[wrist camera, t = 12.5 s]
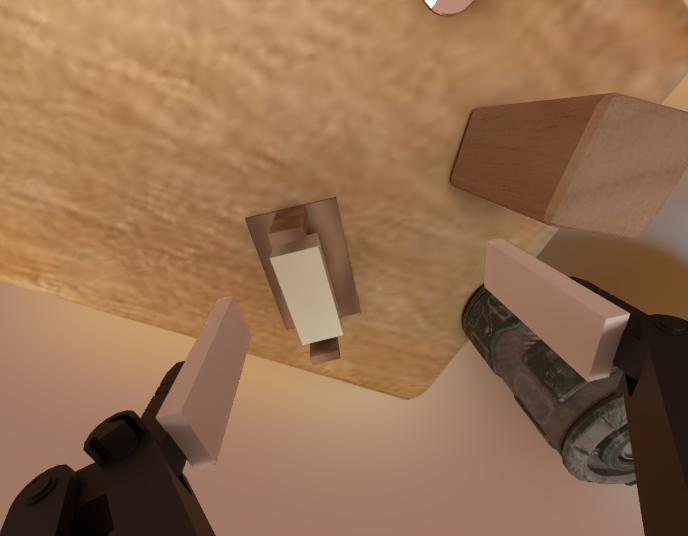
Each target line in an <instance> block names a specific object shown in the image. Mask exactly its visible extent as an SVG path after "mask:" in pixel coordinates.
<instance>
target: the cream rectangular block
mask: <svg viewBox="0 0 688 536" xmlns="http://www.w3.org/2000/svg"><path fill="white" fill-rule="evenodd" d="M270 260H271V263H272V266H273V268H274V271H275V274H276V276H277V279H278V282H279V284H280V287H281V290H282V292H283V295H284V298H285V300H286V303H287V306H288V308H289V311H290V313H291V316H292V319H293V321H294V324H295V327H296V329H297V332H298V335H299V337H300V340H301V343H302V345H305V344H309V343H313V342H317V341H321V340H325V339H330V338H334V337H338V336H342V335H343V329H342V323H341V317H340V312H339V309H338V305H337V302H336V298H335V294H334V291H333V287H332V284H331V280H330V277H329V273H328V269H327V266H326V262H325V259H324V255H323V251H322V248H321V244H320V241H319V237H318V234H317V233H314V234H310V235H307V236H306V239H304V240H299V241H295V242H291V243H286V244H282V245H278V246H273V249H272V253H271V256H270Z"/></svg>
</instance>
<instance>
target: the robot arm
mask: <svg viewBox="0 0 688 536" xmlns="http://www.w3.org/2000/svg"><path fill="white" fill-rule="evenodd" d="M484 287H485V288H486V289H487V290H488V291H489V292H490V293H492V294H493V295H494V296H495V297H496V298H497V299H498V300H499V301H500V302H501V303H502V304H504V305H505V306H506V307H507V308H508V309H509V310H510V311H511V312H512V313H513V314H514V315H516V316H517V317H518V318H519V319H520V320H521V321H522V322H523V323H524V324H525V325H526V326H527V327H529V328H530V329H531V330H532V331H533V332H534V333H535V334H536V335H537V336H538V337H539V338H541V339H542V340H543V341H544V342H545V343H546V344H547V345H548V346H549V347H550V348H551V349H553V350H554V351H555V352H556V353H557V354H558V355H559V356H560V357H561V358H562V359H563V360H564V361H566V362H567V363H568V364H569V365H570V366H571V367H572V368H573V369H574V370H575V371H576V372H578V373H579V374H580V375H581V376H582V377H583V378H584V379H585V380H586V381H587V382H589V381H593V380H598V379H602V378H607V377H609V375H610V372H611V369H612V366H613V364H614V365H615V366H617V367H618V368H619V369H621V370H622V371H623V374H622V376H621V379H620V382H619V385H618V387H617V390H616V394H615V395H617V396H620V394H621V392H622V391H623V397H624V404H625V410H626V417H627V423H628V430H629V436H630V443H631V449H632V456H633V462H634V469H635V475H636V482H637V488H638V495H639V501H640V508H641V514H642V521H643V526H644V534H645V536H688V321H686V320H684V319H681V318H678V317H674V316H669V315H660V314H654V315H647V314H645V313H644V312H642V311H640V310H638V309H637V308H635V307H633V306H631V305H629V304H628V303H625V302H624V301H622V300H620V299H618V298H617V297H615V296H613V295H610V293H608V292H606V291H604V290H600V288H599V287H597V286H595V285H594V284H592V283H590V282H588V281H585V280H582V279H579V278H576V277H573V276H571V277H567V276H565V275H563V274H562V273H560V272H558V271H556V270H555V269H553V268H551V267H550V266H548V265H546V264H545V263H543V262H541V261H539V260H538V259H536V258H534V257H533V256H531V255H529V254H528V253H526V252H524V251H522V250H521V249H519V248H517V247H516V246H514V245H512V244H510V243H509V242H507V241H505V240H504V239H502V238H499V239H494V240H489V241H486V261H485V282H484ZM250 339H251V336H250V334H249V331H248V329H247V326H246V324H245V322H244V319H243V317H242V315H241V312H240V310H239V308H238V305H237V303H236V301H235V298H234V296H233V295H232V296H227V297H222V298H218V300H217V302H216V303H215V305H214V307H213V309H212V311H211V313H210V315H209V317H208V319H207V321H206V322H205V324H204V326H203V328H202V330H201V332H200V334H199V336H198V338H197V340H196V342H195V343H194V345H193V347H192V349H191V351H190V353H189V355H188V357H187V359H186V361H182V362H178V363H176V364H175V365H174V366H173V367H172V368H171V369H170V370H169V371H168V372H167V374H166V375H165V377H164V379H163V380H162V382H161V384H160V387H158V389H157V391H156V393H155V396H153V398H152V399H151V401H150V403H149V405H148V406H147V408H146V410H145V412H144V413H143V415H142V417H141V419H140V418H139V417H138V415H137V414H136V413H135V412H134V411H128V410H126V411H123V412H119V413H116V414H115V415H113V416H111V417H109V418H108V419H106V420H105V421H103V422H102V423H101V424H99V425H98V426H97V427H96V428H95V429H94V430H93V431H92V433H90V435H89V436H88V438H87V440H86V441H85V444H84V451H85V452H86V453H87V454H88V455H89V456H90V457H91V458H92V459H93V460H94V461H95V463H93V464H91V465H88V466H86V467H84V468H82V469H80V470H78V471H76V472H75V471H74V470H72V469H71V468H70V467H69V466H67V465H66V464H65V465H57V466H55V467H53V468H51V469H48V470H46V471H45V472H43V473H42V474H40V475H39V476H37V477H36V478H35V479H33V480H32V481H31V482H30V483H29V484H28V485H26V486H25V488H24V489H23V490H22V491H21V492H20V493H19V494H18V495H17V497H16V498H15V500H14V501H13V503H12V505H11V507H10V509H9V512H8V514H7V516H6V519H5V521H4V524H3V526H2V529H1V532H0V536H216V535H215V534H214V532H213V530H212V528H211V526H210V524H209V522H208V520H207V518H206V516H205V514H204V512H203V510H202V508H201V506H200V504H199V502H198V500H197V498H196V496H195V494H194V492H193V490H192V488H191V486H190V484H189V482H188V480H187V478H186V477H185V475H184V474H183V473H182V471H183V468H184V466H185V463H186V460H187V461H188V462H189V463H190V465H191V466H192V467H193V469H198V468H202V467H207V466H211V465H216V463H217V459H218V456H219V452H220V448H221V445H222V441H223V437H224V434H225V430H226V426H227V423H228V419H229V416H230V412H231V408H232V404H233V401H234V397H235V394H236V390H237V386H238V383H239V379H240V375H241V372H242V368H243V365H244V361H245V357H246V354H247V350H248V346H249V343H250Z"/></svg>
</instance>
